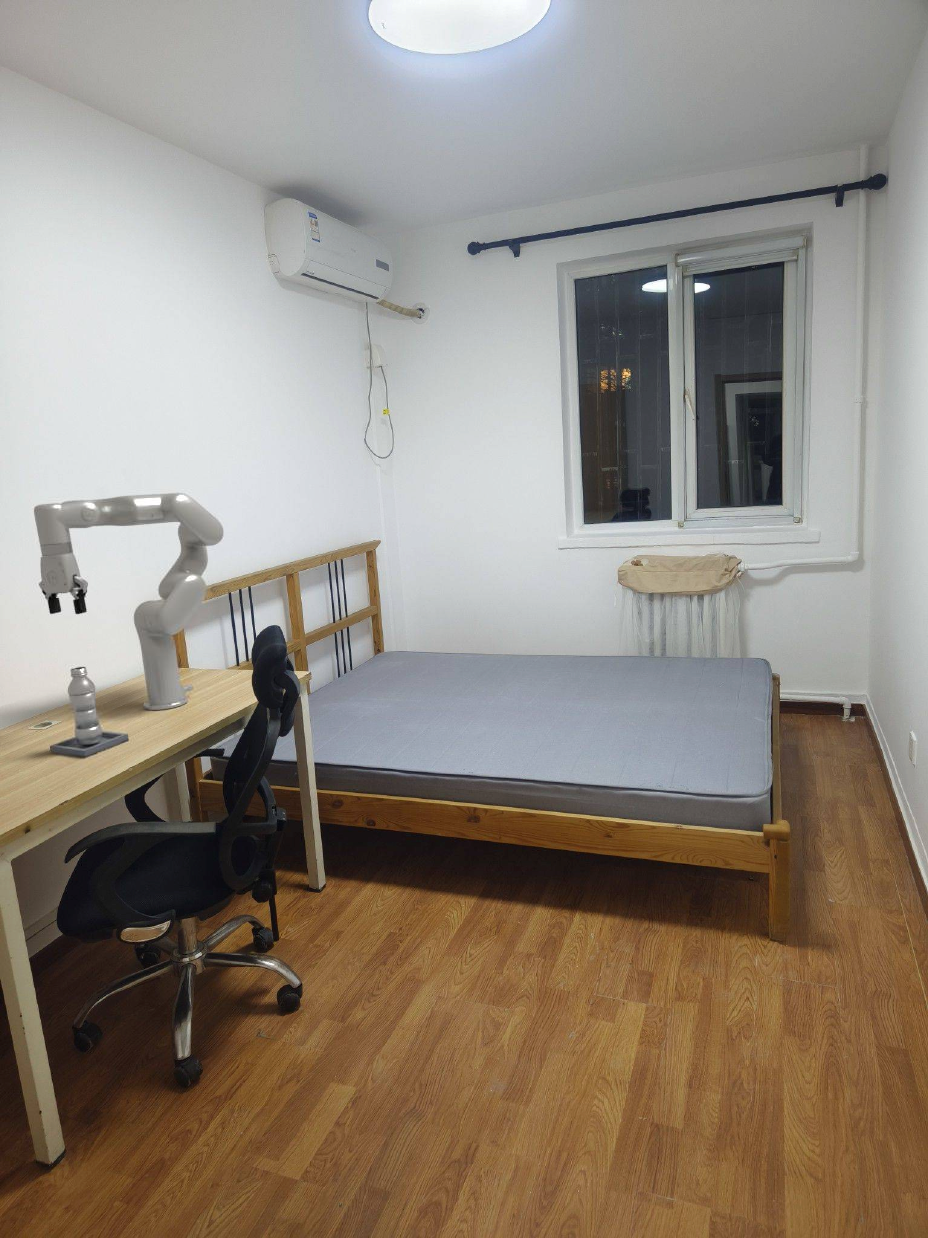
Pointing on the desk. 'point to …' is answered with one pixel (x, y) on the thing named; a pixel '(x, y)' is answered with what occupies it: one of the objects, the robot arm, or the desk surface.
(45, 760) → the desk surface
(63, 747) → the charcoal tray
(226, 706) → the desk surface
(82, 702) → the plastic bottle
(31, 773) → the desk surface
